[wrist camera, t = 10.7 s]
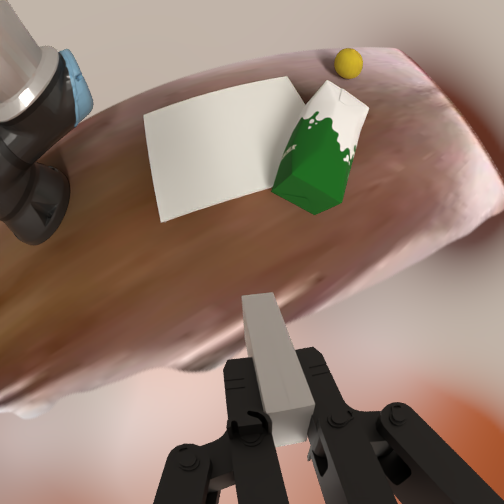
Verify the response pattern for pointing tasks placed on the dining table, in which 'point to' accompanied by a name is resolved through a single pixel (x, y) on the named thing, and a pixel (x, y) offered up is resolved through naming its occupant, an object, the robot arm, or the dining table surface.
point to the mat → (220, 144)
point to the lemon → (348, 63)
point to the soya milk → (321, 150)
